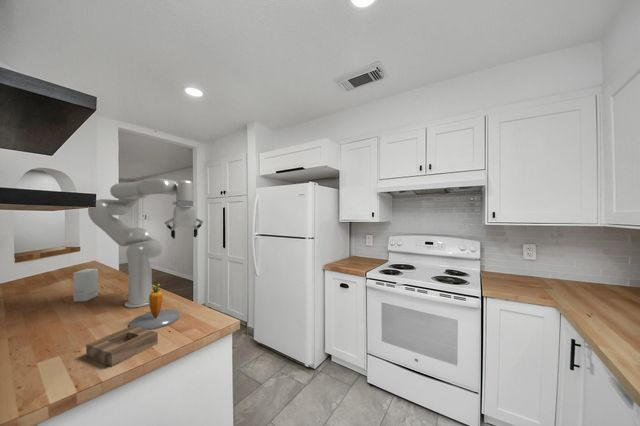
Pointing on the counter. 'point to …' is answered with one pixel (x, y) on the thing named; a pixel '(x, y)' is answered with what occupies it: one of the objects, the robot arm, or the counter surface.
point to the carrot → (155, 301)
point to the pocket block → (121, 345)
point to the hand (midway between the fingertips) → (184, 237)
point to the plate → (155, 319)
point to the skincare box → (85, 284)
